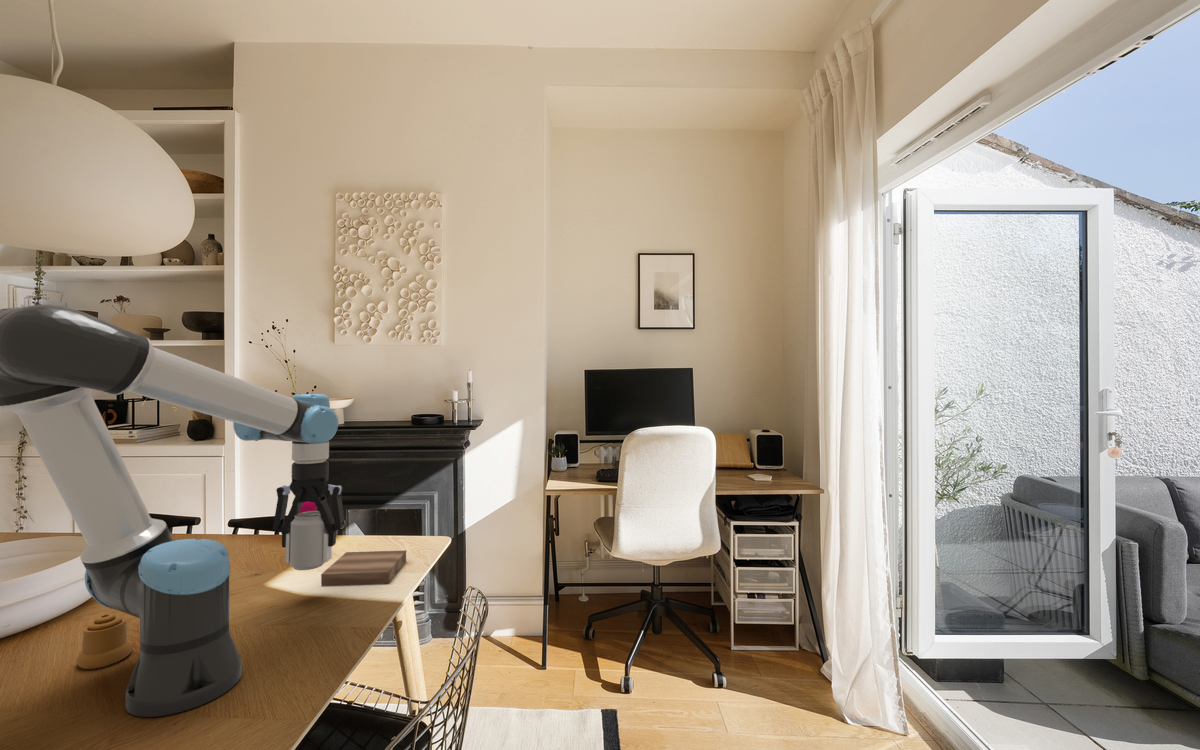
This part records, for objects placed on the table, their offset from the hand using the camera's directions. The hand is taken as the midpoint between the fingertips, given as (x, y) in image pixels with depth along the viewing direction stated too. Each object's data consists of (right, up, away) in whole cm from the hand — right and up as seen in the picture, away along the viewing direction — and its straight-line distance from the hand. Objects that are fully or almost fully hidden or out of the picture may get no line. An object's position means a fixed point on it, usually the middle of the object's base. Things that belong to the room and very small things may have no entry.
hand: (308, 560), depth 122 cm
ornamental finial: (-24, -10, -25) cm, 36 cm away
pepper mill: (-15, -9, +27) cm, 33 cm away
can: (0, -1, 0) cm, 1 cm away
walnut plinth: (+6, -9, +17) cm, 20 cm away
